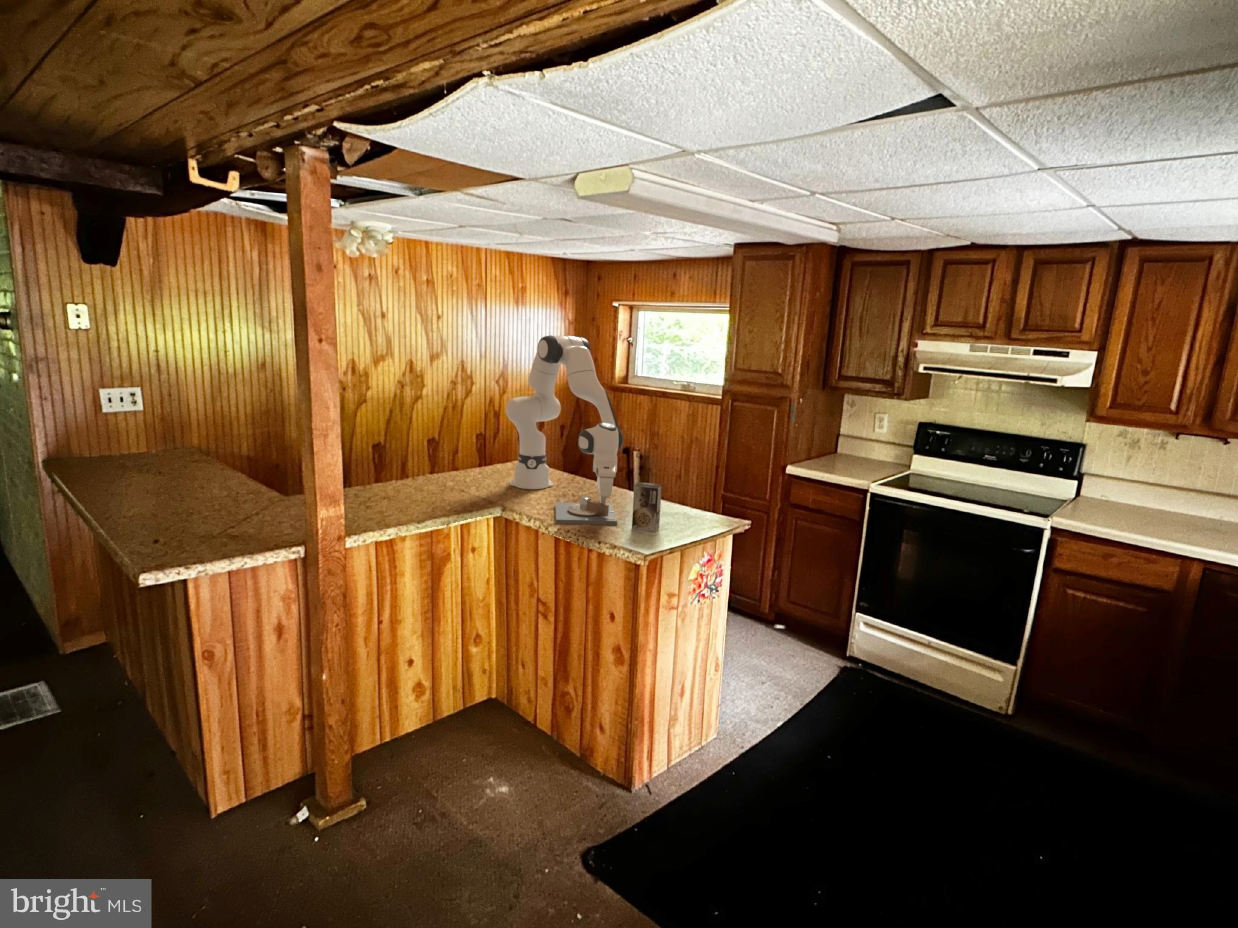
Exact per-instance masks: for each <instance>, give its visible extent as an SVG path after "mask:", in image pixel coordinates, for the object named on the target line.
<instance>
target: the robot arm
mask: <svg viewBox="0 0 1238 928" xmlns="http://www.w3.org/2000/svg"><path fill="white" fill-rule="evenodd" d="M536 348H537V349H536V350H537V351H536V353H535V356H534V358H533V362H532V364H531V368H530V372H529V376H528V385H529V386H530V387H531V389H533V390H534V394H533V395H532V396H531V395H530V396H529V395H528V396H526V395H525V396H518V397H514V398H510V399H509V400H508V401H507V403H506V406H505V415H506V417H507V419H508V420H509V421H510V422H511V423H513V424H514V425H515V428H516V430H517V432H518V437H519V439H518V440H519V452H518V456H517V459H518V460H517V462H518V463H517V464H515V466H514V469H513V470H514V471H513V472H514V475H513V479H512V480H511V481H510V482H509V486H513V487H516V488H519V489H523V490H524V489H525V490H542V489H546V488H550V487H554V483H553V481H551V479H550V467H549V465H547V453H546V441H547V438H546V435H545V434H544V433H543V432H542V431H540V430H539V429H538V427H537V423H539V422H549V421H552V420H554V419H557V418H558V417H559V416H560V414H561V411H562V410H561V409H562V406H561V403H560V400H559V399H558V398H557V397H556V395H555V386H556V383H557V379H558V374H559V371H560V368H561V365H564V366H565V370H566V377H567V383H568V387H569V390H570V391H571V393H573V394H574V396H576V397H578V398H580V399H582V400H584V401H586V402H589V403H591V404H592V405H593V406H595V407H596V408H597V411H598V412H599V416H600V418H601V422H599V423H598V424H597V425H596V426H593V427H590V428H587V429H586V428H585V429H582V430H581V432H580V433H579V434H578V438H577V446H578V448H579V450H580V451H581V452H582V453H583V454H587V455H593V463H592V464H593V465H592V472H594V473H595V476H596V477H597V479H596V483H597V484H596V485H597V487H598V491H599V496H600V498H599V501H600V503H603V504H607V503H606V500H607V499H610V498H611V497H612V492H613V485H614V480H615V479H614V478H616V473H617V472H618V455H617V453H618V452H620V450H621V449H622V447H623V445H624V444H625V439H624V435H623V432H622V430H621V428H620V426H619V424H618V421H617V420H618V419H617V417H616V415H615V411H614V408H613V405H612V402H611V399H610V396H609V394H608V391H607V389H605V388H604V387H603V386H602V385H601V383H600V381H599V379H598V376H597V372H596V367H595V363H594V360H593V357H592V354H591V345H590V343H589V340H587V339H586V338H584V337H581V336H574V335H573V336H572V335H551V334H550V335H545V336H543V337H541V338H540V339H539V341H538V343H537V347H536Z"/></svg>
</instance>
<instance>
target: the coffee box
mask: <svg viewBox="0 0 1238 928" xmlns="http://www.w3.org/2000/svg"><path fill="white" fill-rule="evenodd" d="M662 487H663V485H662V484H661V483H660V484H659V483H653V482H652V483H651V482H641V481H638V482H636V484H635V485H633V498H632V499H633V500H632V501H633V502H632V515H631V517H632V520H631V529H632V530H636V529H638V530H639V531H644V532H645V531H647V532H651V533H653V532H654V533H656V532H657V531H658V530H659V529H660V523H661V522H660V521H661V506H662V505H661V503H662V489H663V488H662Z"/></svg>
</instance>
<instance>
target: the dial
mask: <svg viewBox="0 0 1238 928" xmlns="http://www.w3.org/2000/svg"><path fill="white" fill-rule="evenodd" d="M579 503H580V504H575V505H571V506H569V507H568V512H570V513H572V514H575V515H581V516H593V515H600V516H603V517H606V516H608V511H609V505H606V504H607V503H605V504H603V503H601V502H599V501H596V500H593V499H592V497H590V496H581V497H580V500H579Z"/></svg>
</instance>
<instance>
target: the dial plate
mask: <svg viewBox="0 0 1238 928" xmlns="http://www.w3.org/2000/svg"><path fill="white" fill-rule="evenodd" d="M554 504H555V505H554V507H555V509H554V511H555V524H557V525H561V524H562V525H603V526H604V525H607V526H608V525H609V526H618V519H617V516H616V514H615V511H614V508H613V505H612V503H605V504H606V505H609V511H608V516H606V517H603V516H600V515H593V516H581V515H575V514H572V513H570V512H568V507H569V506H571V505H575V504H580V502H573V503H572V502H555V503H554Z"/></svg>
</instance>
